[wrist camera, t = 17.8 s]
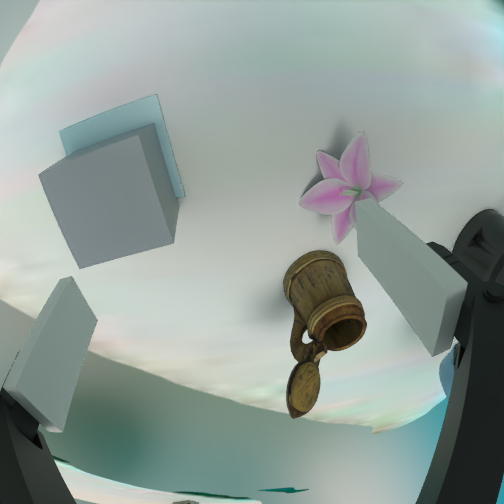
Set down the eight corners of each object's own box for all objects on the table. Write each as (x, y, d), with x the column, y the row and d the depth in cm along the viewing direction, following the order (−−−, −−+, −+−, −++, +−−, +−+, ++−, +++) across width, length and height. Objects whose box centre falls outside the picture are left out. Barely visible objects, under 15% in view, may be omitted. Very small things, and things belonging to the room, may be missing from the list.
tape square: (156, 94, 29) (156, 94, 29) (185, 195, 35) (185, 196, 35) (59, 131, 28) (59, 131, 28) (93, 223, 35) (92, 223, 34)
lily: (352, 113, 34) (345, 120, 26) (419, 182, 34) (430, 209, 27) (291, 179, 41) (268, 203, 33) (354, 238, 42) (346, 277, 34)
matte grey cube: (154, 122, 30) (138, 134, 23) (179, 207, 36) (173, 243, 28) (72, 152, 30) (38, 174, 22) (101, 230, 35) (79, 269, 28)
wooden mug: (243, 295, 43) (268, 406, 28) (326, 238, 41) (392, 332, 25) (278, 329, 47) (309, 429, 32) (353, 280, 45) (412, 370, 29)
